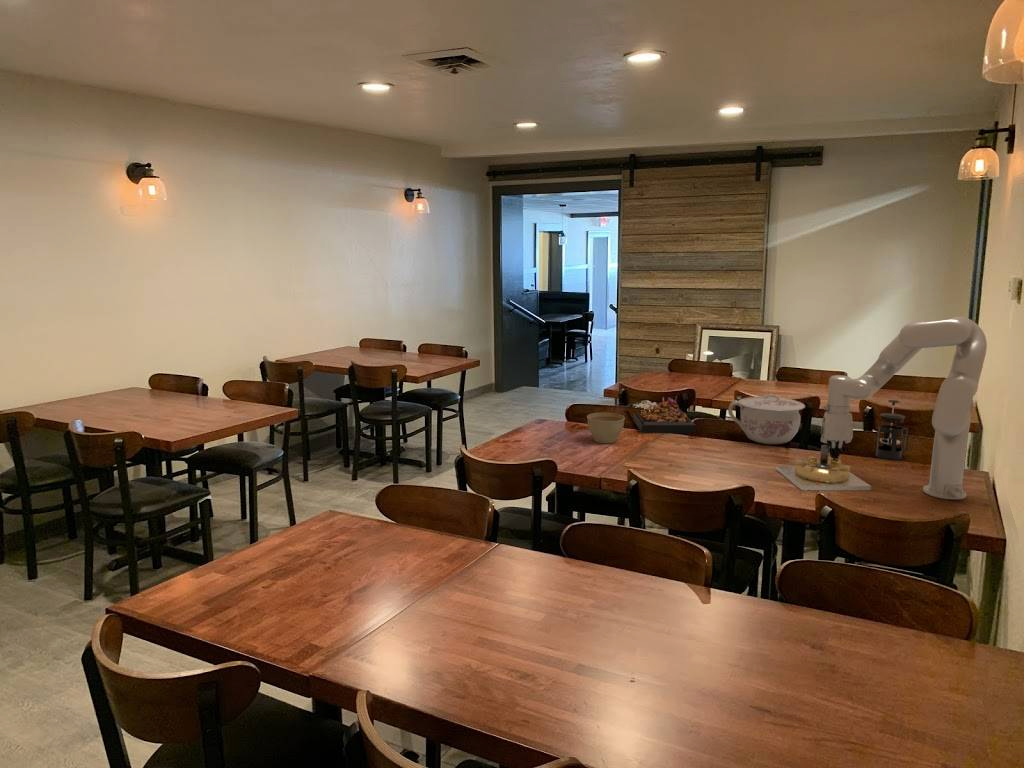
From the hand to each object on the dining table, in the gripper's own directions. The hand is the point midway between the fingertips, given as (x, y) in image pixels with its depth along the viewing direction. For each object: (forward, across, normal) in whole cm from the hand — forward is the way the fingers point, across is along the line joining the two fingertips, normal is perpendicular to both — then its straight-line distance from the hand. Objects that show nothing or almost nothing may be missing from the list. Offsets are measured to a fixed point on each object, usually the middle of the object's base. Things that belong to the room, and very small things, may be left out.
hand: (834, 457), depth 265 cm
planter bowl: (+6, -79, +45) cm, 92 cm away
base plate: (+6, -7, -7) cm, 12 cm away
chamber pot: (+6, -8, +47) cm, 48 cm away
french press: (+6, +32, +23) cm, 40 cm away
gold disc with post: (+5, -7, -7) cm, 11 cm away
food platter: (+7, -49, +82) cm, 96 cm away
